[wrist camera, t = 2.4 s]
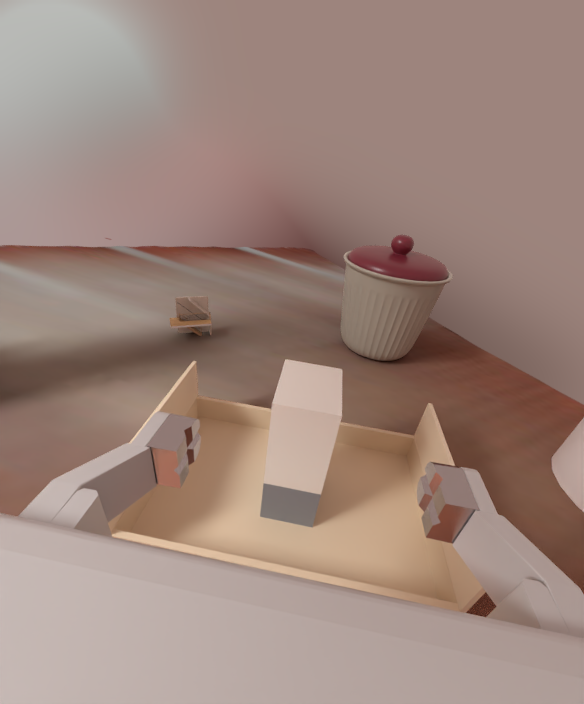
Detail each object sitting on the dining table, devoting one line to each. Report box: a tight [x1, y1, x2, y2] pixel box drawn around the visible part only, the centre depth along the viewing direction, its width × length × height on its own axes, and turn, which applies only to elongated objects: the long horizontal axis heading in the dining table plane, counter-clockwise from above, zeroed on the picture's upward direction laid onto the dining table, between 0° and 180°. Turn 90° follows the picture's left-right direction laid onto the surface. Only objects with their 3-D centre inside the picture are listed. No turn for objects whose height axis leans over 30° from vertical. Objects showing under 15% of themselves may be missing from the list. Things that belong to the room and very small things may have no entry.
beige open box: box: [108, 361, 486, 613], centre depth 30 cm, size 17×27×8 cm, turn 82°
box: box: [260, 359, 342, 527], centre depth 28 cm, size 6×5×14 cm
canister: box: [341, 235, 453, 361], centre depth 57 cm, size 18×18×21 cm
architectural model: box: [170, 296, 212, 336], centre depth 56 cm, size 3×7×7 cm, turn 112°
